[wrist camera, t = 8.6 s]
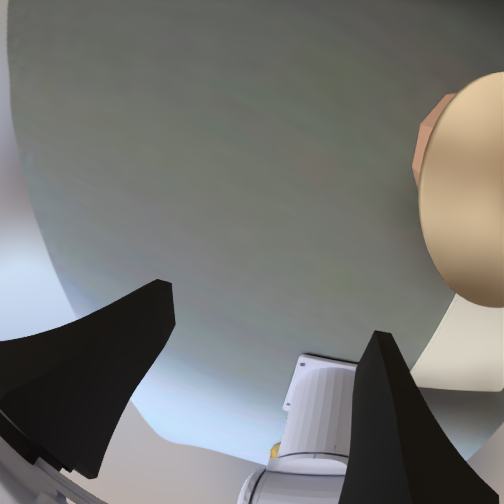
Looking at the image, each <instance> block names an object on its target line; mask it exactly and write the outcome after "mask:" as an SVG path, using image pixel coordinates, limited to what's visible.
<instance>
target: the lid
mask: <svg viewBox="0 0 504 504" xmlns="http://www.w3.org/2000/svg"><path fill="white" fill-rule="evenodd" d="M418 205H419V218H420V223H421V228H422V234H423V237H424V240H425V243H426V246H427V249H428V251H429V253H430V255H431V258H432V260H433V262H434V264H435V266H436V268H437V270H438V272H439V273H440V275H441V276H442V278H443V280H444V281H445V282H446V283H447V284H448V285H449V287H450V288H451V289H452V290H453V291H455V292H456V293H457V294H458V295H459V296H461V297H462V298H464V299H466V300H467V301H469V302H471V303H474V304H476V305H479V306H484V307H489V308H504V72H499V73H491V74H488V75H485V76H482V77H479V78H477V79H475V80H474V81H472V82H470V83H469V84H467V85H466V86H464V87H463V88H462V89H461V90H460V91H459V92H457V93H456V94H455V95H454V97H453V98H452V99H451V100H450V101H449V102H448V104H447V105H446V106H445V108H444V109H443V111H442V113H441V114H440V116H439V117H438V119H437V121H436V123H435V125H434V127H433V129H432V131H431V134H430V136H429V139H428V142H427V145H426V148H425V151H424V156H423V160H422V164H421V170H420V178H419V191H418Z"/></svg>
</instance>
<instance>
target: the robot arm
mask: <svg viewBox="0 0 504 504" xmlns="http://www.w3.org/2000/svg"><path fill="white" fill-rule="evenodd" d="M175 325H176V323H175V313H174V304H173V293H172V283H170V282H166V281H163V280H159V279H156V280H154V281H152V282H150V283H148V284H146V285H144V286H143V287H141V288H139V289H137V290H135V291H133V292H132V293H130V294H128V295H126V296H124V297H122V298H121V299H119V300H117V301H115V302H113V303H111V304H109V305H108V306H105V307H103V308H101V309H99V310H97V311H95V312H93V313H91V314H89V315H87V316H85V317H83V318H81V319H78V320H76V321H74V322H71V323H68V324H66V325H64V326H61V327H58V328H55V329H52V330H49V331H45V332H42V333H39V334H35V335H31V336H27V337H23V338H18V339H13V340H7V341H0V504H68V503H67V502H66V497H67V498H69V499H70V500H71V501H73V502H75V503H76V504H107V503H105V502H103V501H102V500H100V499H99V498H97V497H95V496H94V495H92V494H91V493H89V492H87V491H86V490H84V489H83V488H81V487H80V486H78V485H77V484H75V483H74V482H72V481H71V480H69V479H68V478H67V477H65V476H64V475H62V474H61V473H60V470H61V469H62V468H64V469H65V470H66V471H68V472H69V473H71V472H72V470H73V469H74V470H75V471H77V472H78V473H80V474H81V475H83V476H84V477H86V478H88V479H94V478H97V476H98V473H99V470H100V467H101V463H102V461H103V458H104V455H105V452H106V449H107V447H108V444H109V442H110V439H111V437H112V435H113V432H114V430H115V428H116V426H117V424H118V421H119V419H120V417H121V415H122V413H123V411H124V409H125V407H126V405H127V403H128V401H129V399H130V397H131V396H132V394H133V392H134V391H135V389H136V388H137V386H138V385H139V383H140V382H141V380H142V379H143V377H144V376H145V374H146V373H147V372H148V370H149V369H150V367H151V366H152V364H153V363H154V361H155V360H156V358H157V357H158V355H159V354H160V352H161V351H162V349H163V348H164V346H165V345H166V343H167V341H168V339H169V337H170V335H171V333H172V331H173V329H174V327H175ZM283 409H284V410H285V411H289V413H288V417H287V421H286V425H285V429H284V433H283V437H282V440H281V444H280V448H279V451H278V455H277V458H272V457H270V458H269V461H268V464H267V468H266V467H260V468H258V469H257V470H255V472H253V473H252V474H251V475H250V476H249V477H248V478H247V480H246V481H245V483H244V485H243V487H242V489H241V492H240V495H239V498H238V502H237V504H499V495H498V494H497V493H496V492H495V491H494V490H493V489H492V488H491V487H490V486H488V484H486V483H485V482H484V481H483V480H482V479H481V478H480V477H479V476H478V475H477V474H476V472H475V471H474V470H473V469H472V468H471V467H470V466H469V465H468V464H467V462H466V461H465V460H464V459H463V457H462V456H461V455H460V454H459V452H458V451H457V450H456V448H455V447H454V446H453V444H452V443H451V442H450V440H449V439H448V437H447V436H446V435H445V433H444V432H443V430H442V428H441V427H440V425H439V424H438V422H437V421H436V419H435V418H434V416H433V414H432V413H431V411H430V409H429V407H428V406H427V404H426V402H425V400H424V398H423V397H422V395H421V393H420V391H419V389H418V387H417V385H416V383H415V381H414V379H413V377H412V375H411V373H410V371H409V369H408V367H407V365H406V363H405V361H404V359H403V356H402V354H401V352H400V350H399V348H398V346H397V344H396V342H395V340H394V338H393V336H392V334H391V333H387V332H381V331H376V330H375V331H374V333H373V335H372V337H371V339H370V342H369V344H368V346H367V348H366V350H365V352H364V354H363V356H362V358H361V360H360V362H359V363H358V365H357V364H351V363H346V362H340V361H335V360H330V359H325V358H320V357H315V356H310V355H305V354H303V355H301V356H300V357H299V359H298V362H297V366H296V369H295V372H294V375H293V378H292V381H291V384H290V387H289V390H288V393H287V396H286V399H285V402H284V405H283Z"/></svg>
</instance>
